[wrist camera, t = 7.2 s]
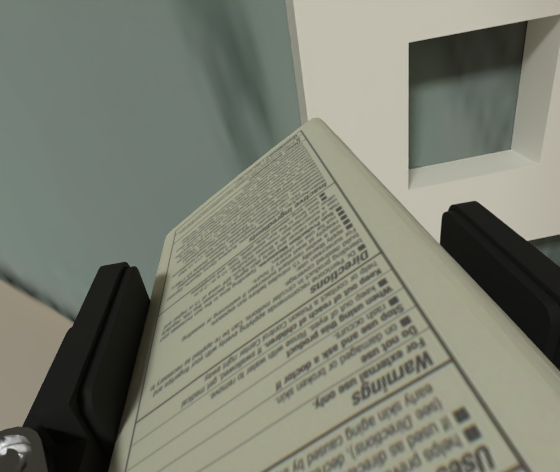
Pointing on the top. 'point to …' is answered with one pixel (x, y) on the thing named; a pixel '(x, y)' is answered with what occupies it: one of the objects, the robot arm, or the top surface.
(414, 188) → the box stand
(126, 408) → the skincare box
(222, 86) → the top surface
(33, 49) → the top surface
